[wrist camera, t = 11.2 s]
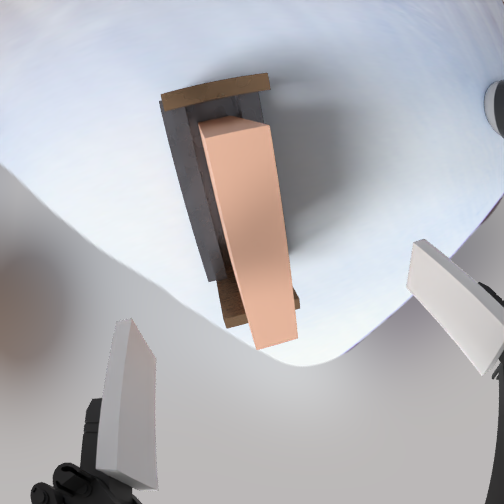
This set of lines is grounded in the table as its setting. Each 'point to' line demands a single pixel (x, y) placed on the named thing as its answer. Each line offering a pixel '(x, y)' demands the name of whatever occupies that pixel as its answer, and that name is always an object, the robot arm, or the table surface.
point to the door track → (197, 174)
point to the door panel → (252, 223)
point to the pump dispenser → (495, 106)
